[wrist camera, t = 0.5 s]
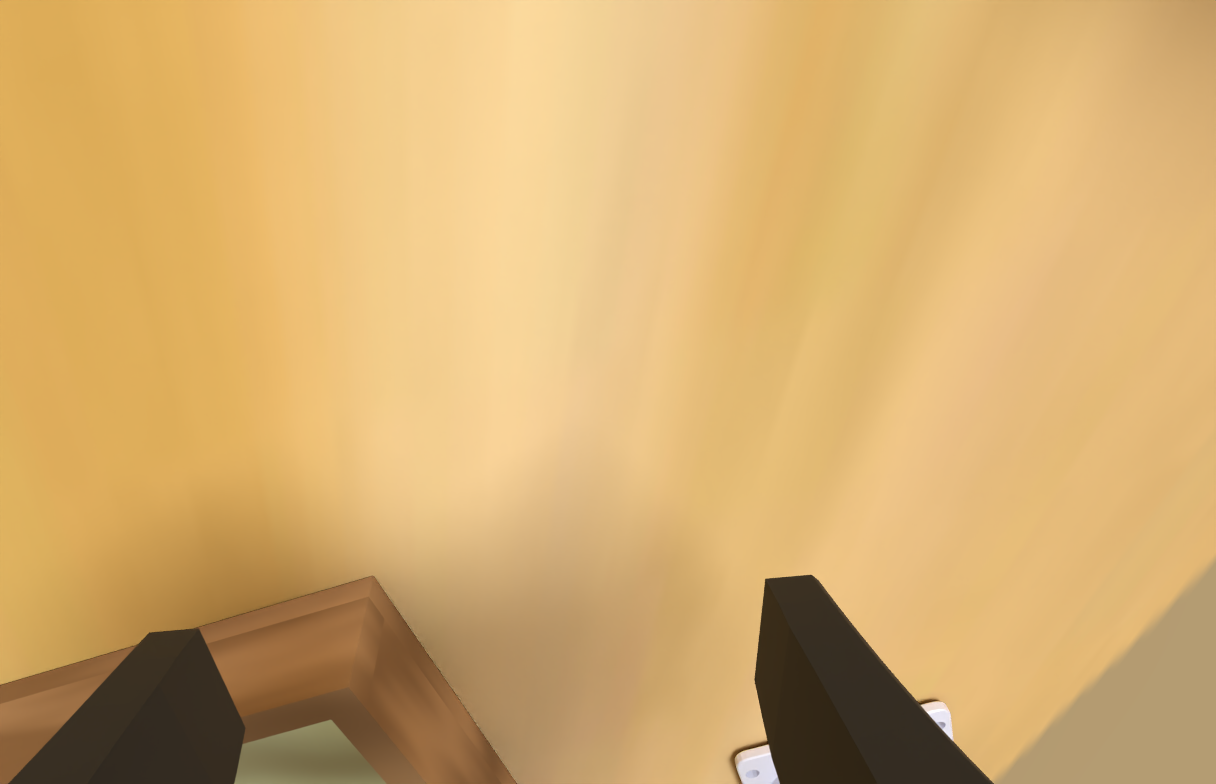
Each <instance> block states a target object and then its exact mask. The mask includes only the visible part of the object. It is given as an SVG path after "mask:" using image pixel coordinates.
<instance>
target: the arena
mask: <svg viewBox="0 0 1216 784" xmlns="http://www.w3.org/2000/svg"><path fill="white" fill-rule="evenodd" d="M197 628H199V629H200V632H201V634H202V636H203V638H204V640H205V642H206V644H207V646H208V649H209V651H210V653H211V655H212V657H213V659H214V661H215V664H216V666H217V668H218V670H219V672H220V674H221V676H222V679H223V681H224V683H225V685H226V687H227V689H228V691H229V693H230V696H231V698H232V700H233V702H234V704H235V706H236V708H237V711H238V713H239V715H240V717H241V719H242V721H243V723H244V725H245V728H246V729H245V734H244V739H243V744H242V749H241V754H240V759H239V764H238V769H237V774H236V778H235V783H234V784H517V783H516V782H515V780H514V779H513V778H512V776H511V775H510V773H509V772H508V770H507V769H506V767H505V766H504V764H503V763H502V762H501V760H500V759H499V757H498V756H497V754H496V753H495V751H494V750H493V749H492V747H491V746H490V744H489V743H488V741H487V740H486V738H485V737H484V736H483V734H482V733H481V731H480V730H479V728H478V727H477V725H476V724H475V722H474V721H473V720H472V718H471V717H470V715H469V714H468V712H467V711H466V709H465V708H464V707H463V705H462V704H461V702H460V701H459V699H458V698H457V696H456V695H455V693H454V692H453V691H452V689H451V688H450V686H449V685H448V683H447V682H446V680H445V679H444V678H443V676H442V675H441V673H440V672H439V670H438V669H437V667H436V666H435V665H434V663H433V662H432V660H431V659H430V657H429V656H428V654H427V653H426V651H425V650H424V649H423V647H422V646H421V644H420V643H419V641H418V640H417V638H416V637H415V636H414V634H413V633H412V631H411V630H410V628H409V627H408V625H407V624H406V623H405V621H404V620H403V618H402V617H401V615H400V614H399V612H398V611H397V609H396V608H395V607H394V605H393V604H392V602H391V601H390V599H389V598H388V596H387V595H386V594H385V592H384V591H383V589H382V588H381V586H380V585H379V583H378V582H377V580H376V579H375V578H374V576H371V577H368V578H364V579H361V580H357V581H354V582H351V583H347V584H344V585H340V586H337V587H334V588H330V589H327V590H323V591H320V592H317V593H313V594H310V595H306V596H303V597H300V598H296V599H293V600H289V601H286V602H283V603H279V604H276V605H272V606H269V607H266V608H262V609H259V610H255V611H252V612H248V613H245V614H242V615H238V616H235V617H231V618H228V619H225V620H221V621H218V622H214V623H211V624H208V625H204V626H201V627H197ZM197 628H194V629H197ZM136 646H137V645H136ZM136 646H133V647H129V648H126V649H123V650H119V651H116V652H112V653H109V654H105V655H102V656H99V657H95V658H92V659H88V660H85V661H82V662H78V663H75V664H71V665H68V666H65V667H61V668H58V669H54V670H51V671H48V672H44V673H41V674H37V675H34V676H31V677H27V678H24V679H20V680H17V681H14V682H10V683H7V684H3V685H0V784H8V783H9V782H10V781H11V780H12V779H13V778H14V777H15V776H16V775H17V774H18V773H19V772H20V771H21V769H22V768H23V767H24V766H25V765H26V764H27V763H28V762H29V761H30V760H31V759H32V758H33V757H34V756H35V755H36V754H37V753H38V752H39V751H40V749H41V748H42V747H43V746H44V745H45V744H46V743H47V742H48V741H49V740H50V739H51V738H52V737H53V736H54V735H55V733H56V732H57V731H58V730H59V729H60V728H61V727H62V726H63V725H64V724H65V723H66V722H67V721H68V719H69V718H70V717H71V716H72V715H73V714H74V713H75V712H76V711H77V710H78V709H79V708H80V706H81V705H82V704H83V703H84V702H85V701H86V700H87V699H88V698H89V697H90V696H91V695H92V693H93V692H94V691H95V690H96V689H97V688H98V687H99V686H100V685H101V684H102V683H103V682H104V681H105V679H106V678H107V677H108V676H109V675H110V674H111V673H112V672H113V671H114V670H115V669H116V668H117V666H118V665H119V664H120V663H121V662H122V661H123V660H124V659H125V658H126V657H127V656H128V655H129V654H130V652H131V651H132V650H133V649H134V648H135V647H136Z"/></svg>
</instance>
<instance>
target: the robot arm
mask: <svg viewBox="0 0 1216 784" xmlns="http://www.w3.org/2000/svg"><path fill="white" fill-rule="evenodd" d="M755 684H756V689H757V694H758V699H759V703H760V708H761V713H762V718H763V722H764V727H765V731H766V735H767V740H768V745H764V746H760V747H756V748H752V749H748V750H745V751H742V752H740V753H739V754H737V756H736V757H735V764H736V769H737V771H738V774H739V776H740V779H741V782H742V784H994V783H993V782H992V781H991V780H990V779H989V778H988V777H987V776H986V775H985V774H984V773H983V772H982V771H981V770H980V769H979V768H978V767H977V766H976V765H975V764H974V763H973V762H972V761H971V760H970V759H969V758H968V757H967V756H966V755H965V754H964V752H963V751H962V750H961V749H960V748H959V747H958V746H957V745H956V744H955V743H954V742H953V732H952V723H951V714H950V712H949V710H948V708H947V706H946V704H945V703H943V702H939V701H935V702H930V703H926V704H922V705H920V704H919V703H918V702H917V701H916V700H915V698H914V697H913V696H912V695H911V694H910V693H909V692H908V691H907V689H906V688H905V687H904V686H903V685H902V684H901V683H900V681H899V680H898V679H897V678H896V677H895V676H894V674H893V673H892V672H891V671H890V670H889V669H888V667H887V666H886V665H885V664H884V663H883V661H882V660H881V659H880V658H879V657H878V655H877V654H876V653H875V652H874V650H873V649H872V648H871V647H870V646H869V644H868V643H867V642H866V641H865V640H864V638H863V637H862V636H861V635H860V633H859V632H858V631H857V630H856V628H855V627H854V626H853V625H852V623H851V622H850V621H849V620H848V618H847V617H846V616H845V614H844V613H843V612H842V611H841V609H840V608H839V607H838V605H837V604H836V603H835V602H834V600H833V599H832V598H831V596H830V595H829V594H828V592H827V591H826V590H825V588H824V587H823V586H822V584H821V583H820V582H819V581H818V580H817V579H816V578H815V577H814V576H812V575H804V576H792V577H781V578H769V579H765V588H764V597H763V606H762V616H761V625H760V634H759V643H758V653H757V662H756V671H755ZM245 729H246V728H245V725H244V723H243V721H242V719H241V717H240V715H239V713H238V711H237V708H236V706H235V704H234V702H233V700H232V698H231V696H230V693H229V691H228V689H227V687H226V685H225V683H224V681H223V679H222V676H221V674H220V672H219V670H218V668H217V666H216V664H215V661H214V659H213V657H212V655H211V653H210V651H209V649H208V646H207V644H206V642H205V640H204V638H203V636H202V634H201V632H200V629H199V628H197V629H186V630H175V631H163V632H152V633H149V634H148V635H147V636H146V637H145V638H144V639H143V640H142V641H141V642H140V643H139V644H138V645H137V646H136V647H135V648H134V649H133V650H132V651H131V652H130V654H129V655H128V656H127V657H126V658H125V659H124V660H123V661H122V662H121V663H120V664H119V665H118V666H117V668H116V669H115V670H114V671H113V672H112V673H111V674H110V675H109V676H108V677H107V678H106V679H105V681H104V682H103V683H102V684H101V685H100V686H99V687H98V688H97V689H96V690H95V691H94V692H93V693H92V695H91V696H90V697H89V698H88V699H87V700H86V701H85V702H84V703H83V704H82V705H81V706H80V708H79V709H78V710H77V711H76V712H75V713H74V714H73V715H72V716H71V717H70V718H69V719H68V721H67V722H66V723H65V724H64V725H63V726H62V727H61V728H60V729H59V730H58V731H57V732H56V733H55V735H54V736H53V737H52V738H51V739H50V740H49V741H48V742H47V743H46V744H45V745H44V746H43V747H42V748H41V749H40V751H39V752H38V753H37V754H36V755H35V756H34V757H33V758H32V759H31V760H30V761H29V762H28V763H27V764H26V765H25V766H24V767H23V768H22V769H21V771H20V772H19V773H18V774H17V775H16V776H15V777H14V778H13V779H12V780H11V781H10V782H9V783H8V784H234V783H235V778H236V774H237V769H238V764H239V759H240V754H241V749H242V744H243V739H244V734H245Z"/></svg>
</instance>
